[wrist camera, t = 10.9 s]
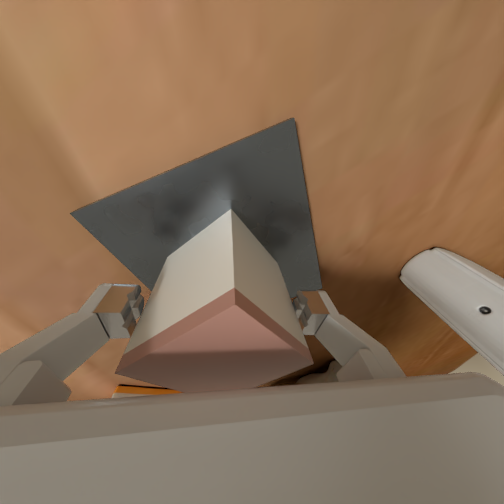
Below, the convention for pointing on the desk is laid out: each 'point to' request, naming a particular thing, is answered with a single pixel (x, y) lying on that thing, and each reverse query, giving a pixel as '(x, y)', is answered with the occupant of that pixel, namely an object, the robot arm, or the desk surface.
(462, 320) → the photo printer
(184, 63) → the desk surface
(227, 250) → the pink and white block
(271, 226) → the grey square base plate
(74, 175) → the desk surface
